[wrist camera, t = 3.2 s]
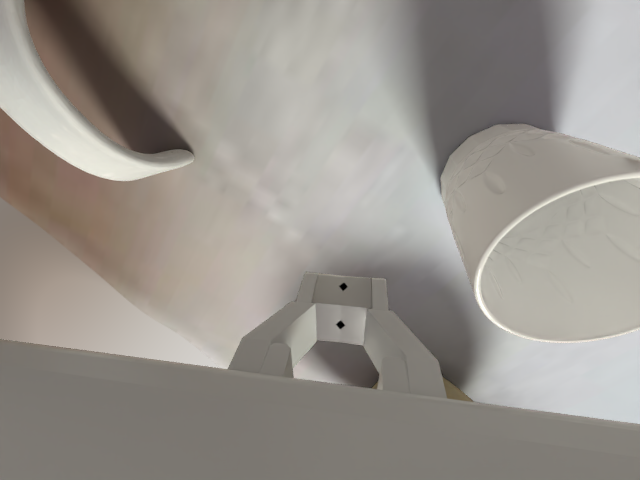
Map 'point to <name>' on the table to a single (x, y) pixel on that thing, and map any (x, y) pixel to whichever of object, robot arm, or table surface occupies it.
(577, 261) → the white cup
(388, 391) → the robot arm
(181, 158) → the spoon rest
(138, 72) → the table surface
